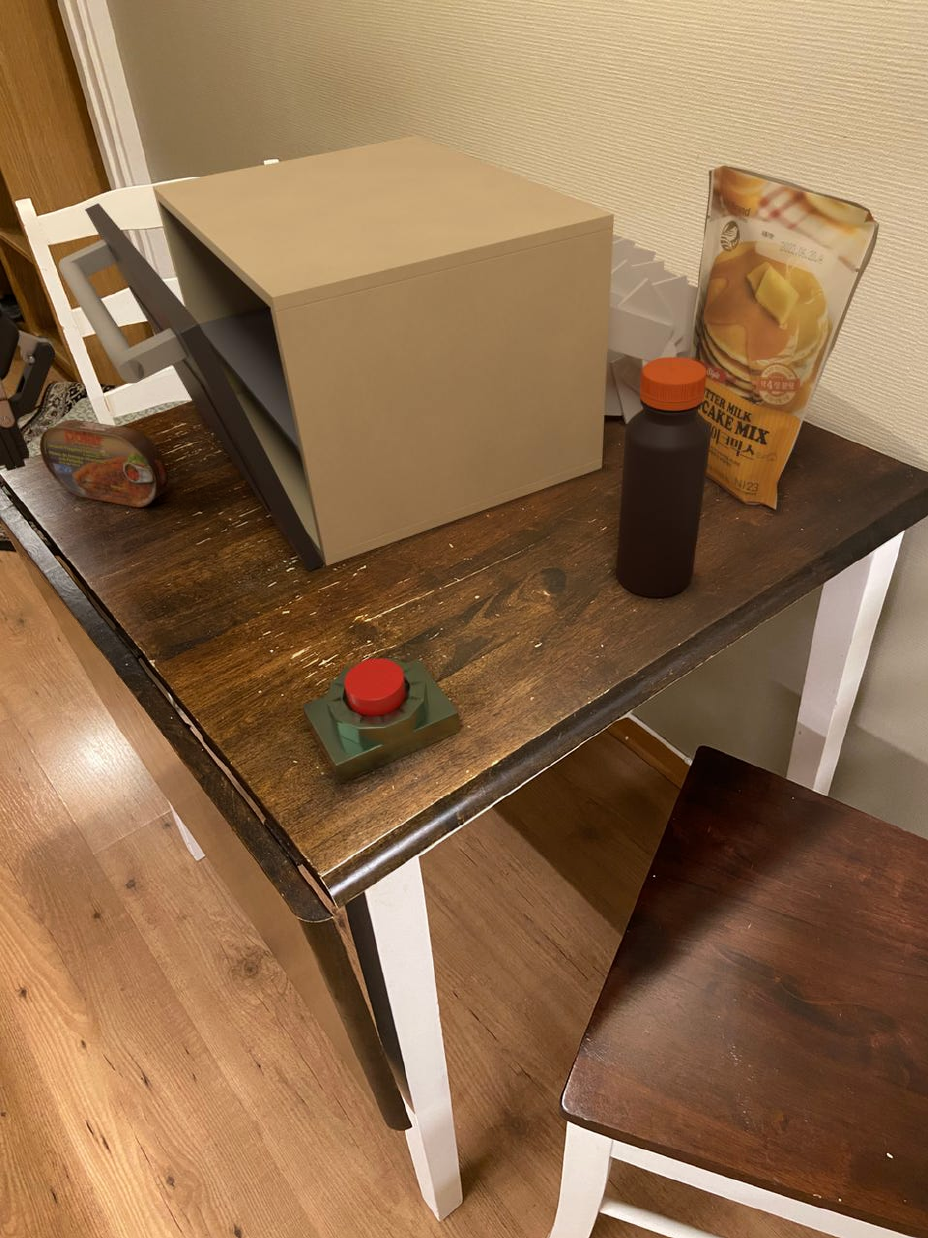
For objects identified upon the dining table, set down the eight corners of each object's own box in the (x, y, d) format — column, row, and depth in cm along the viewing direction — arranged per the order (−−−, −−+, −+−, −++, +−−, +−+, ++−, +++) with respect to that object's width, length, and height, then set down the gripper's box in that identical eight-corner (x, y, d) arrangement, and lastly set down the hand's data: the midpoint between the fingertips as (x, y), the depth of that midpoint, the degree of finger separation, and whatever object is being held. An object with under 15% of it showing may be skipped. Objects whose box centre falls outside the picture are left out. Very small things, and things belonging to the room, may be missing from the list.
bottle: (600, 573, 81) (610, 369, 68) (652, 545, 84) (672, 343, 71) (654, 609, 77) (676, 399, 64) (707, 578, 80) (739, 370, 67)
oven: (326, 566, 85) (271, 296, 68) (211, 405, 112) (152, 185, 95) (602, 468, 95) (614, 213, 78) (435, 343, 123) (417, 135, 106)
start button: (361, 725, 64) (358, 708, 63) (338, 688, 67) (335, 671, 66) (416, 702, 65) (413, 685, 64) (391, 667, 68) (388, 650, 67)
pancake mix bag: (704, 424, 101) (739, 155, 83) (820, 505, 87) (892, 205, 69) (654, 439, 99) (679, 167, 81) (764, 524, 85) (824, 220, 67)
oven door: (258, 601, 83) (112, 366, 65) (158, 430, 111) (36, 231, 92) (323, 564, 84) (198, 323, 66) (208, 404, 112) (98, 202, 94)
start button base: (341, 786, 64) (332, 750, 62) (305, 723, 69) (296, 687, 67) (461, 732, 67) (458, 696, 65) (419, 675, 72) (415, 639, 70)
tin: (54, 492, 98) (25, 423, 93) (73, 477, 100) (46, 410, 95) (164, 514, 93) (140, 443, 88) (181, 498, 96) (159, 428, 90)
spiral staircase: (593, 374, 121) (687, 450, 102) (480, 342, 113) (561, 418, 94) (650, 239, 113) (765, 293, 94) (533, 194, 105) (633, 244, 86)
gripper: (9, 219, 67) (87, 424, 78) (-185, 257, 63) (-73, 469, 74) (22, 245, 62) (104, 460, 73) (-188, 289, 57) (-67, 510, 69)
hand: (15, 464), depth 73 cm, fingers closed
